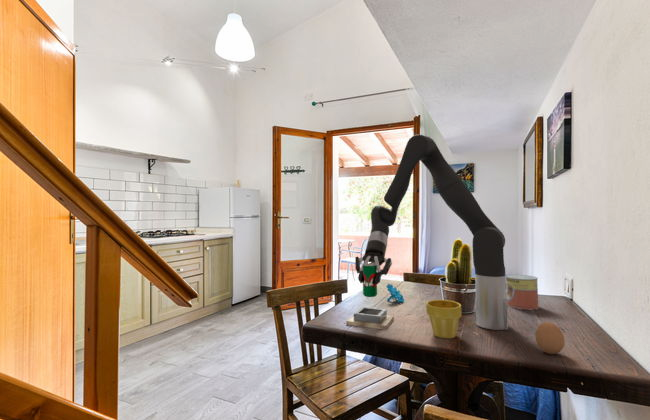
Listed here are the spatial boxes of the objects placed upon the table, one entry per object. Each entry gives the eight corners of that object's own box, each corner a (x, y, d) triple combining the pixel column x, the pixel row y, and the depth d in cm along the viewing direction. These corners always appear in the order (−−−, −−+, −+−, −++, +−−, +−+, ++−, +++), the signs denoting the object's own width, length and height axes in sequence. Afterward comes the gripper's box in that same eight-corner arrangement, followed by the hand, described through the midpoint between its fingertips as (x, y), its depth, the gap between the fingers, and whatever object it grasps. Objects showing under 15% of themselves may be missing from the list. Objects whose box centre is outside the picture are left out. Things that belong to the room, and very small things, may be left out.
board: (393, 319, 118) (393, 315, 118) (386, 329, 107) (385, 325, 107) (357, 315, 123) (357, 312, 123) (346, 324, 112) (346, 321, 113)
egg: (568, 359, 82) (567, 327, 83) (539, 356, 85) (537, 324, 85) (560, 350, 88) (559, 319, 89) (533, 347, 91) (532, 317, 91)
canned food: (501, 302, 139) (500, 274, 139) (528, 302, 138) (527, 274, 139) (515, 310, 128) (514, 279, 128) (545, 309, 127) (543, 279, 127)
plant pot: (427, 339, 98) (426, 306, 98) (426, 328, 108) (425, 298, 108) (464, 342, 95) (463, 308, 95) (459, 330, 105) (458, 300, 105)
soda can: (378, 294, 117) (378, 261, 117) (375, 298, 112) (374, 263, 113) (365, 293, 119) (364, 260, 119) (361, 296, 114) (360, 262, 115)
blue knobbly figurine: (400, 301, 136) (385, 283, 141) (390, 310, 138) (376, 291, 143) (409, 299, 145) (394, 282, 150) (399, 308, 147) (385, 290, 152)
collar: (386, 316, 117) (386, 309, 118) (380, 323, 109) (380, 316, 109) (362, 313, 121) (361, 306, 121) (353, 320, 113) (353, 313, 113)
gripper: (356, 238, 126) (346, 274, 115) (393, 239, 120) (386, 277, 109) (361, 251, 130) (351, 286, 119) (396, 252, 125) (390, 290, 113)
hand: (368, 282), depth 114 cm, fingers closed on soda can, 5 cm apart
